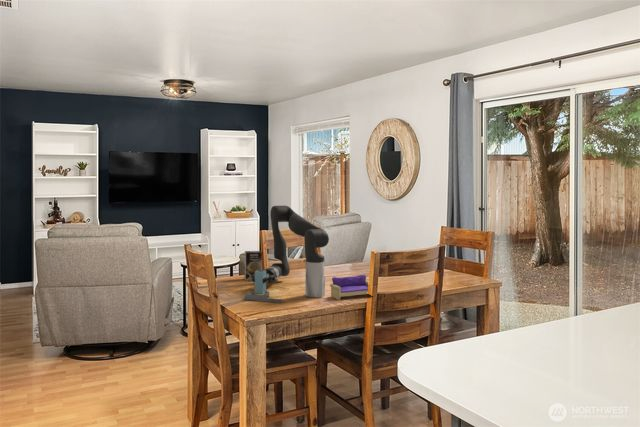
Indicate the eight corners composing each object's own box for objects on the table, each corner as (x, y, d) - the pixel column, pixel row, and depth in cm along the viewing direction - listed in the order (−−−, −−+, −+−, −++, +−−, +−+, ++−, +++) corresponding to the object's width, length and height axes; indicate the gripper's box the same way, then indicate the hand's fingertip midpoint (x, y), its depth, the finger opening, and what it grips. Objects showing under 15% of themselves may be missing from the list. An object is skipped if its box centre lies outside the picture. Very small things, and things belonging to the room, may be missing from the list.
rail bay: (288, 298, 265) (288, 293, 265) (281, 303, 255) (281, 297, 255) (252, 295, 270) (252, 290, 270) (243, 300, 260) (243, 294, 260)
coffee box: (245, 280, 306) (245, 252, 304) (244, 278, 312) (244, 250, 310) (261, 280, 308) (262, 252, 307) (260, 278, 314) (260, 250, 313)
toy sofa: (337, 300, 263) (338, 279, 262) (329, 296, 270) (329, 276, 269) (374, 296, 272) (375, 276, 271) (365, 293, 280) (365, 273, 279)
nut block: (266, 291, 278) (266, 270, 278) (263, 293, 274) (263, 271, 273) (257, 291, 280) (257, 269, 279) (254, 293, 275) (254, 271, 274)
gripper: (257, 267, 292) (245, 272, 275) (282, 268, 288) (272, 274, 272) (257, 280, 292) (245, 287, 276) (282, 282, 289) (271, 289, 272)
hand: (258, 280), depth 274 cm, fingers closed on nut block, 4 cm apart
